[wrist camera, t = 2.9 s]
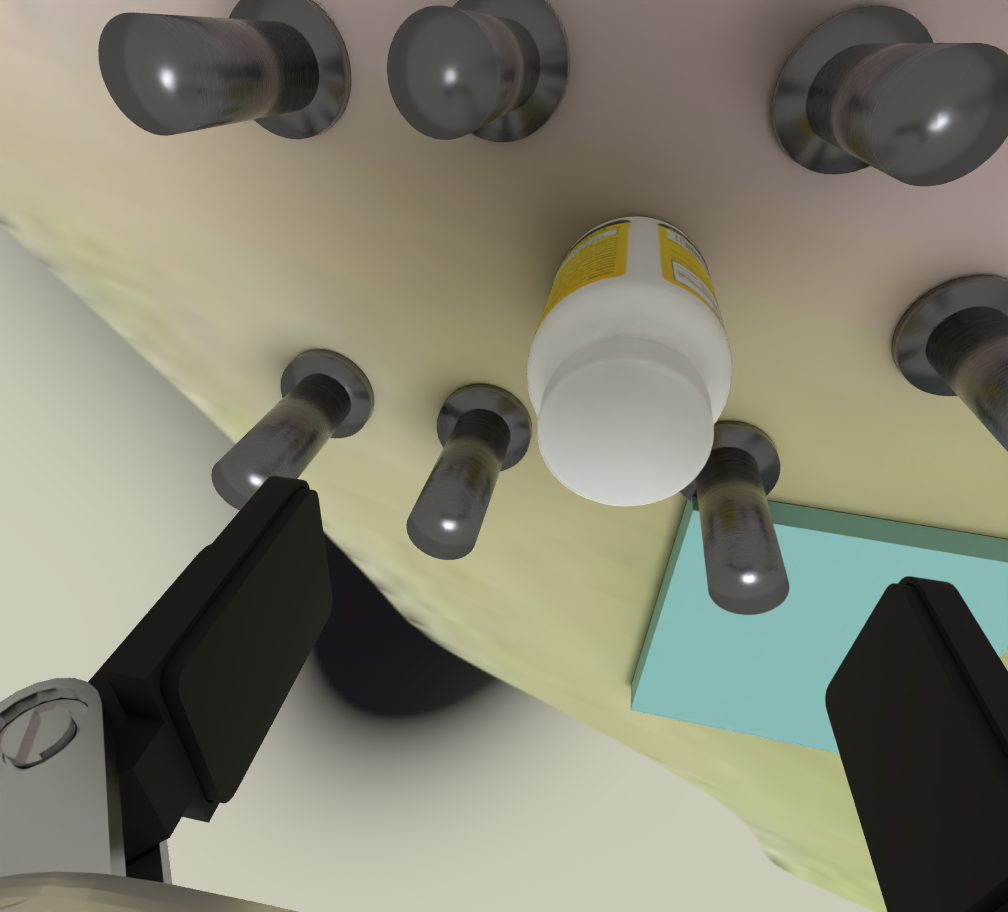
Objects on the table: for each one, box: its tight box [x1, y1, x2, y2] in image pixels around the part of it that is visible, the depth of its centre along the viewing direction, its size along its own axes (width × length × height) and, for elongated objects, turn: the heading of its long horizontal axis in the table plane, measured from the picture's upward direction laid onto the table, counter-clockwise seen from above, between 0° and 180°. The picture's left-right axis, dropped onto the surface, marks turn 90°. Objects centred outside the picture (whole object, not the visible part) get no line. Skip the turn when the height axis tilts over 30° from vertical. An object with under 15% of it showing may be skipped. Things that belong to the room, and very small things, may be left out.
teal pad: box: [631, 497, 1008, 753], centre depth 28 cm, size 14×14×2 cm
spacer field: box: [98, 0, 1008, 615], centre depth 19 cm, size 17×27×7 cm, turn 86°
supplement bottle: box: [527, 216, 732, 506], centre depth 18 cm, size 5×5×10 cm
